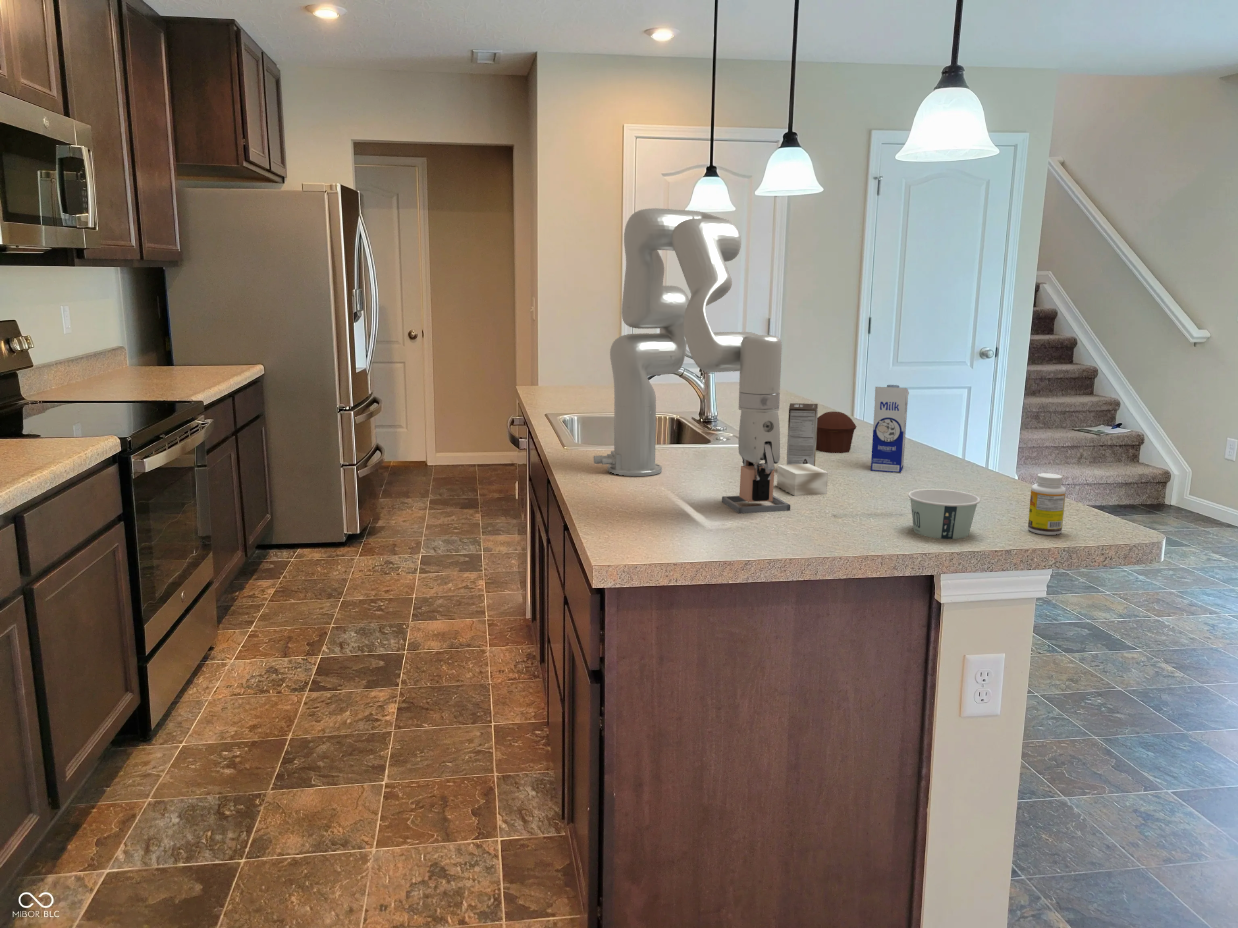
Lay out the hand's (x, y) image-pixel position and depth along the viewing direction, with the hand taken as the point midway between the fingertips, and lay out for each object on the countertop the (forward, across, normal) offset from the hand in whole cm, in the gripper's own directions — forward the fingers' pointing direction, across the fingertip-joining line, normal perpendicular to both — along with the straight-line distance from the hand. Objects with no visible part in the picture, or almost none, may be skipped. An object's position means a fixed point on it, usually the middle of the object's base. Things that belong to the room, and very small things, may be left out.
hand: (755, 496), depth 173 cm
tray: (+3, 0, 0) cm, 3 cm away
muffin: (+3, +58, -45) cm, 73 cm away
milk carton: (+3, +32, -46) cm, 56 cm away
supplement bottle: (+3, -24, -45) cm, 51 cm away
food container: (+3, -20, -27) cm, 34 cm away
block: (+1, 0, 0) cm, 1 cm away
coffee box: (+3, +30, -23) cm, 38 cm away
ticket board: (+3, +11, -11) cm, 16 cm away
